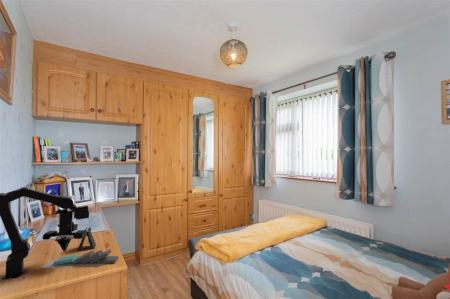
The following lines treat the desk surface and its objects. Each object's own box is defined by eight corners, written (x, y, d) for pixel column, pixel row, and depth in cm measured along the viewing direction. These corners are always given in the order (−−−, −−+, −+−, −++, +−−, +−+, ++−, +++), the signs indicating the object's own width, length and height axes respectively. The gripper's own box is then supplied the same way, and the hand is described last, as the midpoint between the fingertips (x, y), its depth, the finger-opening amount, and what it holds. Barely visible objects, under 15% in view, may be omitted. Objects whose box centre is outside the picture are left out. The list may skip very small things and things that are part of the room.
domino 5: (96, 263, 119) (115, 263, 121) (96, 260, 119) (115, 260, 121) (100, 259, 124) (118, 258, 126) (100, 256, 124) (118, 255, 126)
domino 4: (91, 263, 119) (107, 255, 120) (89, 260, 119) (106, 252, 120) (95, 259, 124) (111, 251, 125) (94, 256, 124) (110, 248, 125)
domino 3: (82, 264, 119) (99, 256, 120) (80, 261, 118) (97, 253, 120) (86, 260, 123) (102, 252, 125) (85, 257, 123) (101, 249, 125)
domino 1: (54, 265, 117) (72, 261, 118) (53, 262, 117) (72, 258, 118) (59, 260, 122) (77, 257, 123) (59, 258, 122) (77, 254, 123)
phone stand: (76, 251, 135) (77, 230, 135) (79, 247, 140) (80, 227, 140) (94, 249, 138) (94, 229, 138) (96, 245, 143) (96, 226, 143)
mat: (100, 266, 118) (100, 265, 118) (40, 268, 114) (40, 267, 114) (106, 258, 126) (106, 258, 126) (51, 260, 123) (51, 259, 123)
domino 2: (73, 264, 118) (90, 257, 119) (71, 262, 118) (89, 254, 119) (77, 260, 123) (94, 252, 124) (76, 257, 123) (93, 250, 124)
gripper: (91, 216, 129) (90, 244, 129) (55, 217, 127) (54, 245, 127) (81, 222, 118) (80, 253, 118) (42, 223, 116) (41, 254, 116)
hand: (64, 251), depth 120 cm, fingers closed
